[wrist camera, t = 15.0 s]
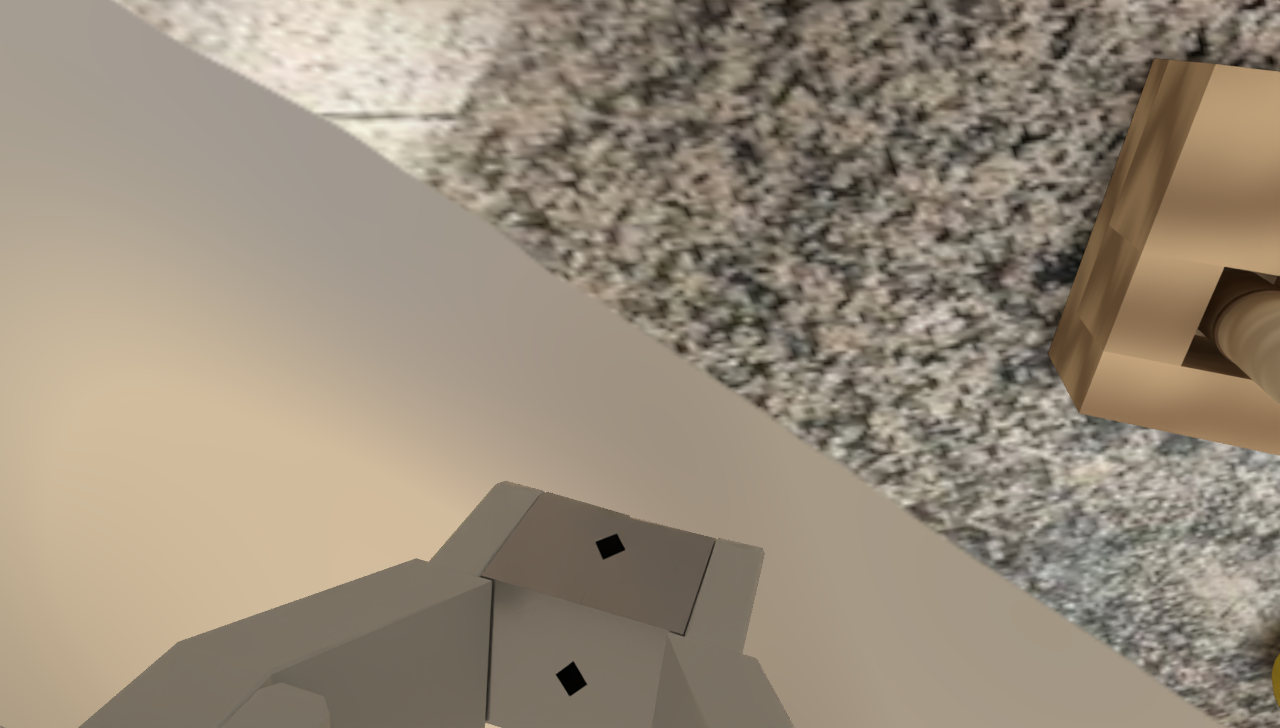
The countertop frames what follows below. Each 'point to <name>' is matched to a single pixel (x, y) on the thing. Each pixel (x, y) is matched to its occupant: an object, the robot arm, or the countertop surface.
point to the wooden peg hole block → (1178, 258)
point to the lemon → (1276, 679)
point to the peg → (1246, 326)
